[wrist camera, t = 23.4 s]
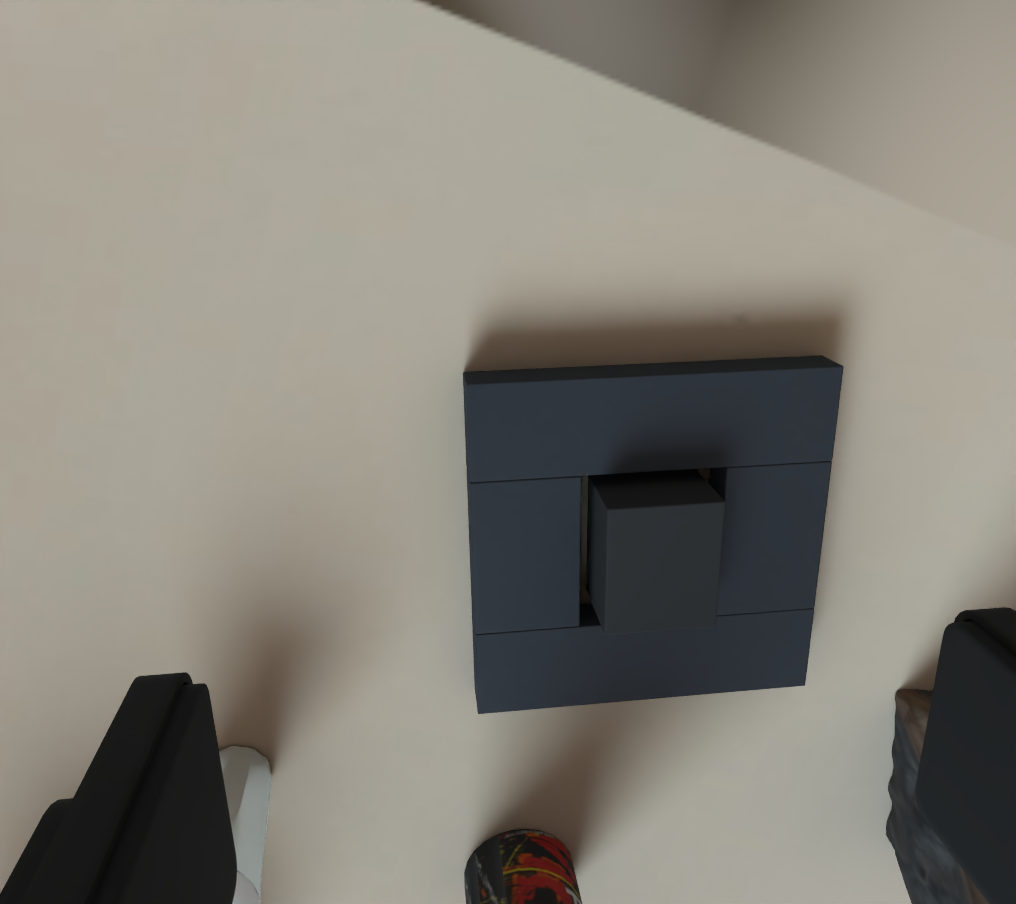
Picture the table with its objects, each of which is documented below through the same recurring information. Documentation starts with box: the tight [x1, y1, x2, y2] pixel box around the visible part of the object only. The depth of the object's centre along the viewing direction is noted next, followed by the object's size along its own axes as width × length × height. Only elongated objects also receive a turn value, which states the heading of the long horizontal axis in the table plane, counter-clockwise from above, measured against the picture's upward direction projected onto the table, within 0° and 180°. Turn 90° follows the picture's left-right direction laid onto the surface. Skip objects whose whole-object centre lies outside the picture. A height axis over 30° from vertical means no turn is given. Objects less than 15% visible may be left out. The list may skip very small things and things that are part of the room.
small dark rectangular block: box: [586, 469, 725, 635], centre depth 37 cm, size 6×5×4 cm
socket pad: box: [463, 356, 843, 714], centre depth 38 cm, size 16×16×2 cm
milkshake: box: [219, 746, 272, 904], centre depth 37 cm, size 4×5×10 cm
